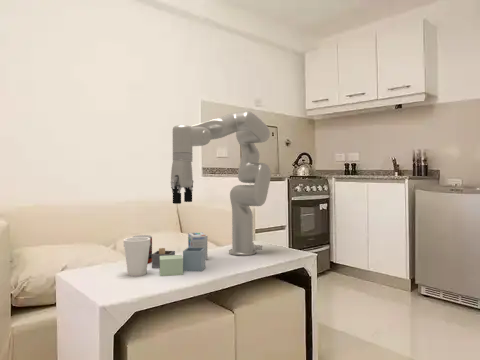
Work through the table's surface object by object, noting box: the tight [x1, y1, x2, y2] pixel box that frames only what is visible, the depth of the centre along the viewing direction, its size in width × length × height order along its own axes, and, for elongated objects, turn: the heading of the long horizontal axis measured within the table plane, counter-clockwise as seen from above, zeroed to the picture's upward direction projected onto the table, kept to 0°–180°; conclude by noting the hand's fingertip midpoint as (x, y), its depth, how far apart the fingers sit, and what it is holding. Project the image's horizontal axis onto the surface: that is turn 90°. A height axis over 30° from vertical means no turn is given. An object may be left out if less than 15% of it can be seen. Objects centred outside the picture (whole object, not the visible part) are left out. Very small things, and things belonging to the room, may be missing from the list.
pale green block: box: [159, 254, 184, 277], centre depth 135 cm, size 8×6×6 cm
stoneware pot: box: [182, 246, 206, 272], centre depth 141 cm, size 7×7×8 cm
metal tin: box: [151, 250, 176, 269], centre depth 146 cm, size 7×7×6 cm
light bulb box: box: [187, 231, 209, 261], centre depth 160 cm, size 11×7×11 cm, turn 18°
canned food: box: [132, 234, 153, 264], centre depth 153 cm, size 8×8×11 cm
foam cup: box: [123, 236, 150, 277], centre depth 134 cm, size 10×9×13 cm
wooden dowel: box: [158, 247, 166, 254], centre depth 145 cm, size 2×2×7 cm
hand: (182, 202), depth 142 cm, fingers open, 9 cm apart
